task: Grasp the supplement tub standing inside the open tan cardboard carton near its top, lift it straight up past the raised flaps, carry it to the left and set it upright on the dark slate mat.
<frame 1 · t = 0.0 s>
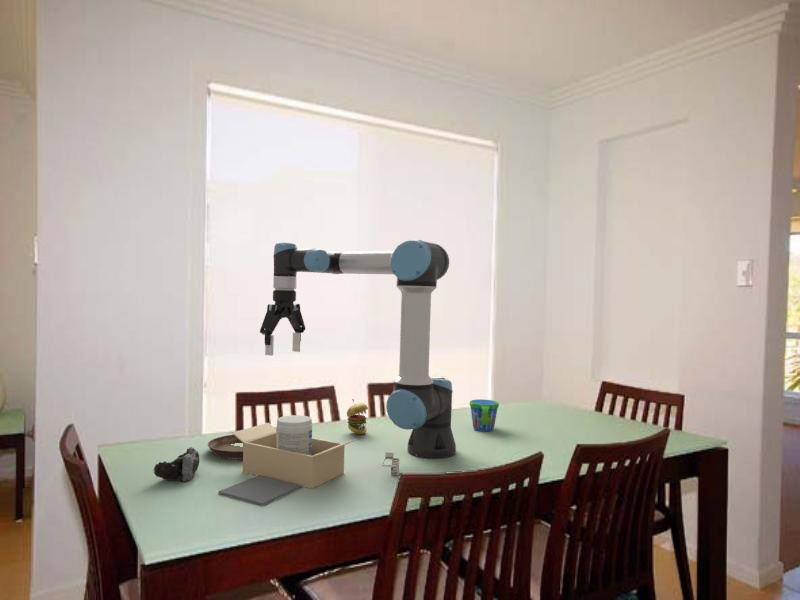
hand: (283, 353, 187), 28 cm above the table, tool pointing down, fingers open, 13 cm apart
hamburger: (356, 434, 195), on the table
snack cup: (483, 430, 206), on the table
supplement tub: (293, 473, 153), resting in carton
plant saucer: (243, 452, 171), on the table
staircase: (390, 477, 153), on the table
mat: (260, 490, 138), on the table
carton: (293, 472, 153), on the table
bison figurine: (177, 477, 147), on the table
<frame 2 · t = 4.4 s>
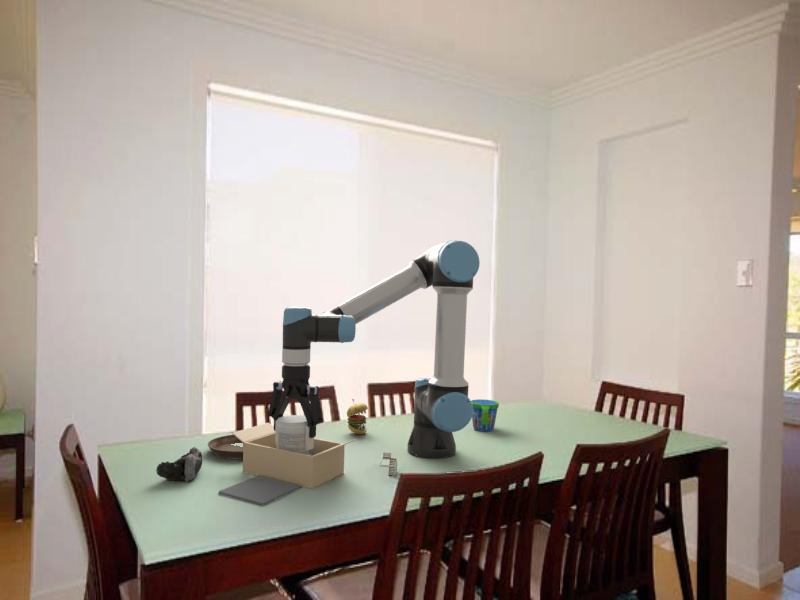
hand: (294, 446, 152), 7 cm above the table, tool pointing down, fingers closed on supplement tub, 10 cm apart
supplement tub: (293, 473, 153), resting in carton, touching gripper
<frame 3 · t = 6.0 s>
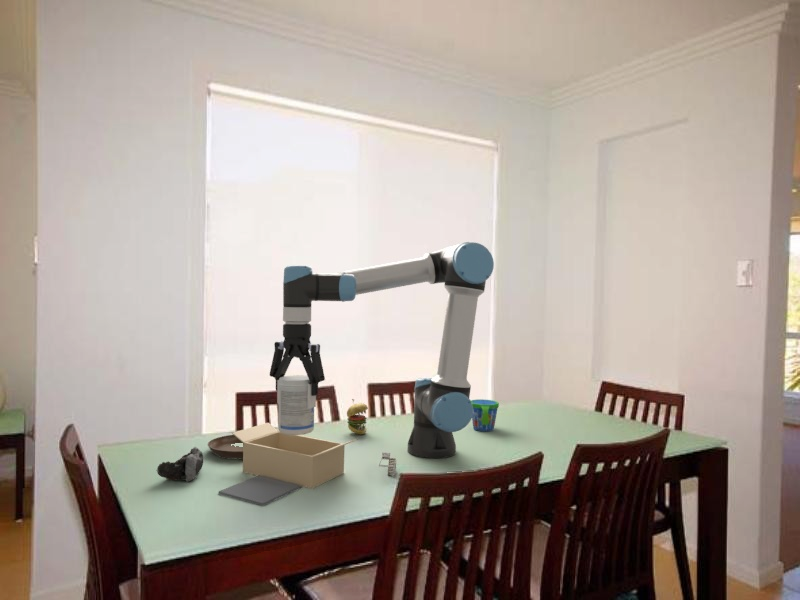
hand: (296, 405, 152), 18 cm above the table, tool pointing down, fingers closed on supplement tub, 10 cm apart
supplement tub: (296, 432, 152), point 11 cm above the table, touching gripper
everything else where it was.
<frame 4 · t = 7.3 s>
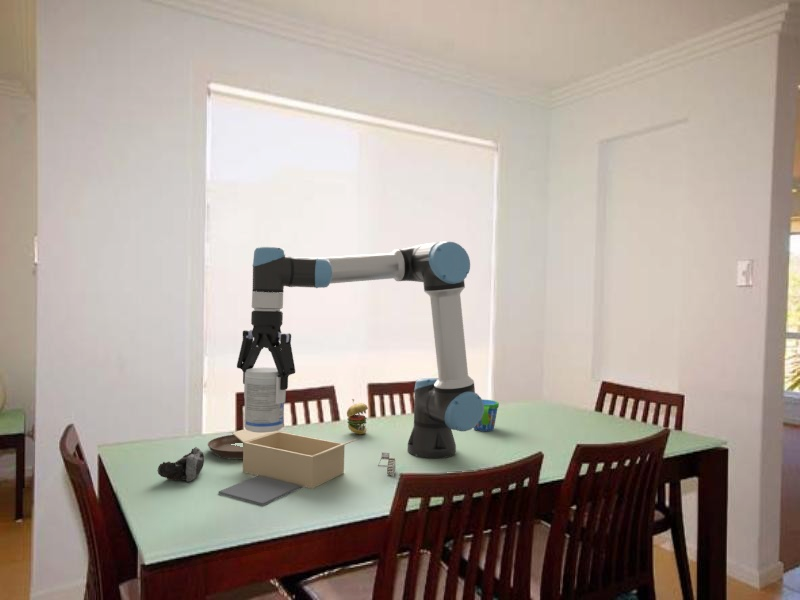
hand: (264, 400, 139), 22 cm above the table, tool pointing down, fingers closed on supplement tub, 10 cm apart
supplement tub: (263, 429, 139), point 15 cm above the table, touching gripper
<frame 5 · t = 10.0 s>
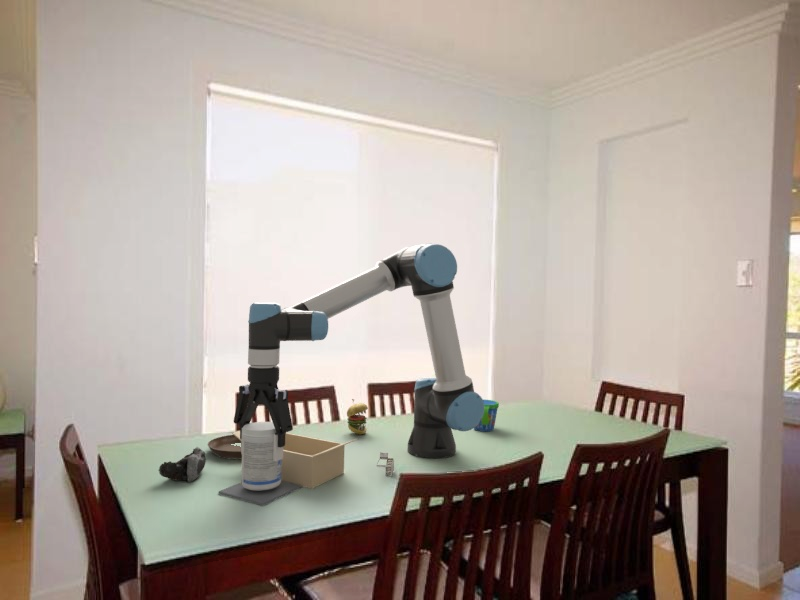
hand: (261, 456, 138), 9 cm above the table, tool pointing down, fingers closed on supplement tub, 9 cm apart
supplement tub: (261, 485, 138), point 1 cm above the table, touching gripper
when the fingers open (9 cm above the table, at t = 10.4 s): supplement tub stays where it is, resting on mat.
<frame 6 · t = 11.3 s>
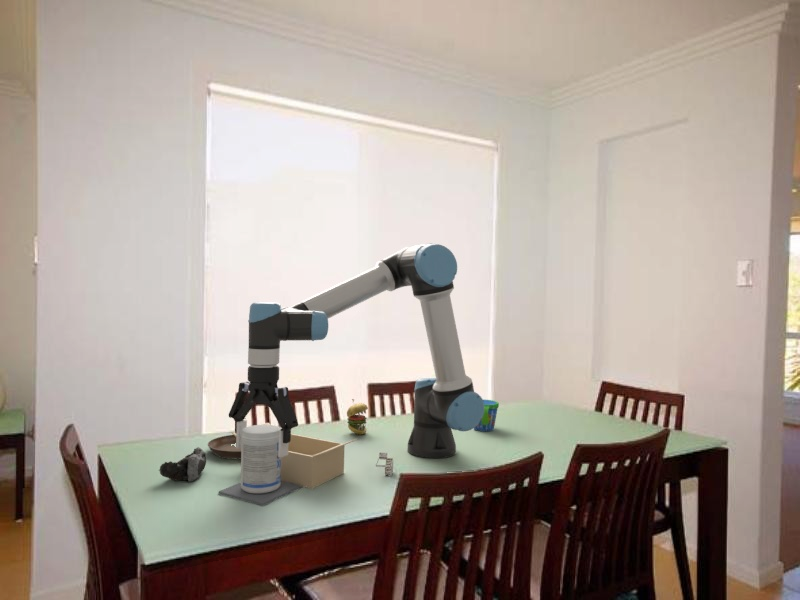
hand: (261, 451, 138), 10 cm above the table, tool pointing down, fingers open, 13 cm apart
supplement tub: (260, 488, 139), resting on mat
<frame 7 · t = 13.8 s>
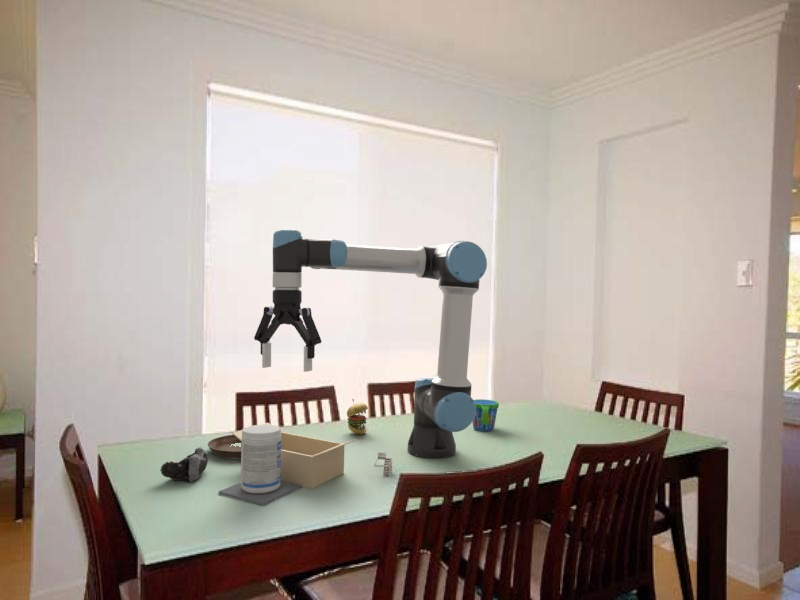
hand: (286, 369, 149), 28 cm above the table, tool pointing down, fingers open, 13 cm apart
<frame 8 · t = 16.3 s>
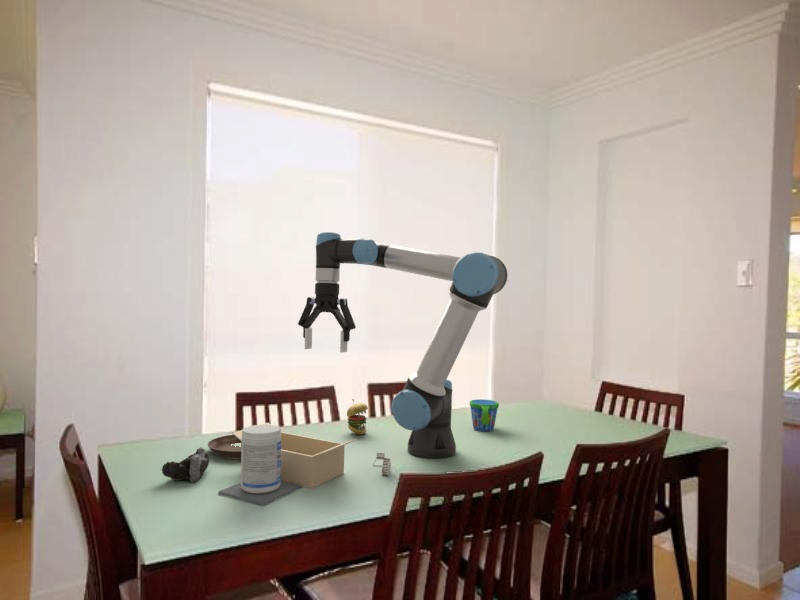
hand: (325, 350, 175), 31 cm above the table, tool pointing down, fingers open, 13 cm apart
at the end: supplement tub inside the target area on the mat (0.1 cm from its centre), point 0.4 cm above the mat's base; supplement tub tilted 0°; the gripper is holding nothing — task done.
